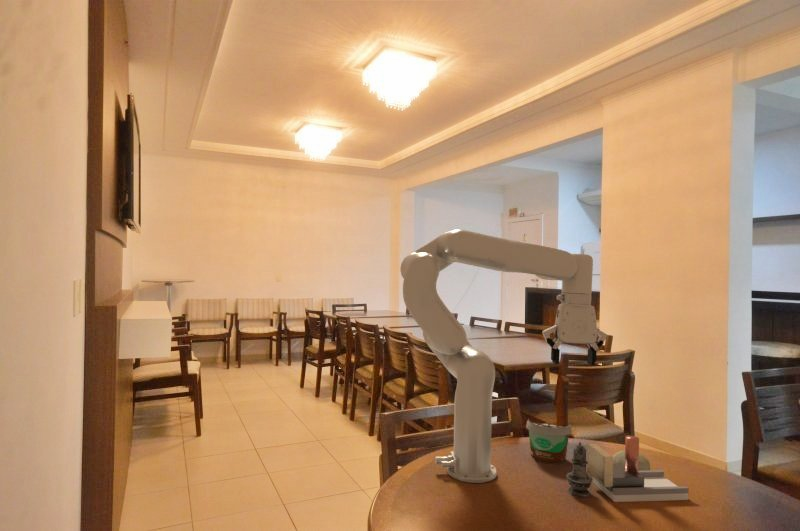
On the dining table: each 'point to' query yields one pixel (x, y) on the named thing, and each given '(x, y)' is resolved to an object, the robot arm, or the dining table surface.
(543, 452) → the food container
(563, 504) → the dining table surface
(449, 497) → the dining table surface
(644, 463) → the sea urchin shell
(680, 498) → the press bed
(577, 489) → the grey figurine
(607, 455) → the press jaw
